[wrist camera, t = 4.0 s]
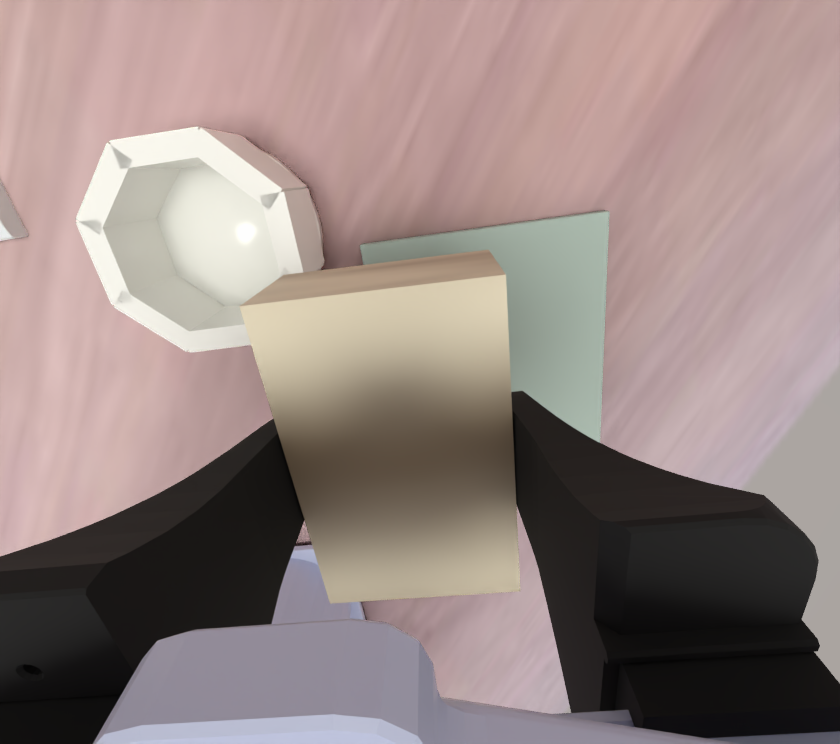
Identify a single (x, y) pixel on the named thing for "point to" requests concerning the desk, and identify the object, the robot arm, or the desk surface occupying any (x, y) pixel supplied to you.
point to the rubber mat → (540, 303)
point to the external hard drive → (9, 218)
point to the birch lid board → (396, 422)
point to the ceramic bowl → (195, 231)
